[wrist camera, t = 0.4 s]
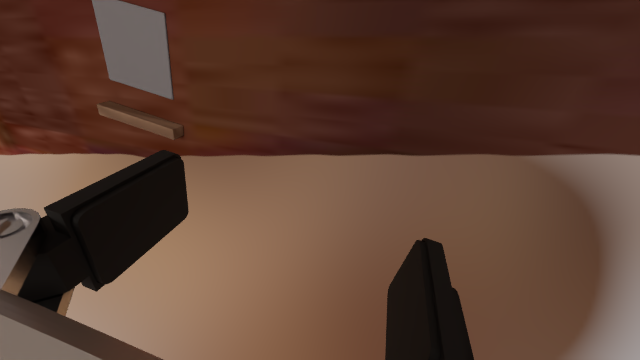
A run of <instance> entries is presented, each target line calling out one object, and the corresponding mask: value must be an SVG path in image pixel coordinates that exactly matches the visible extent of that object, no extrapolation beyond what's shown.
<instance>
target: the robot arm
mask: <svg viewBox="0 0 640 360" xmlns="http://www.w3.org/2000/svg"><path fill="white" fill-rule="evenodd" d="M44 209H45V211H46V213H47V216H45V217H43V218H41V217H40V215H39V213H38V212H36V211H34V210H32V209H25V208H17V209H8V210H2V211H0V360H163V359H161V358H158V357H156V356H154V355H152V354H149V353H147V352H145V351H143V350H140V349H138V348H136V347H134V346H131V345H129V344H127V343H125V342H122V341H120V340H118V339H116V338H113V337H111V336H109V335H106V334H104V333H102V332H100V331H97V330H95V329H93V328H91V327H88V326H86V325H84V324H81V323H79V322H77V321H74V320H72V319H70V318H67V317H65V316H66V313H67V310H68V306H69V304H70V300H71V297H72V294H73V291H74V288H75V286H77V285H78V284H79V283H80V282H81V283H82V285H83V286H85V287H87V288H90V289H92V290H94V291H98V290H99V289H100V288H101V287H103V286H104V285H105V284H108V283H110V282H112V281H114V280H115V279H116V278H117V277H118V276H119V275H121V274H122V273H123V272H124V271H125V270H126V269H128V268H129V267H130V266H131V265H132V264H133V263H135V262H136V261H137V260H138V259H139V258H140V257H141V256H143V255H144V254H145V253H146V252H147V251H148V250H150V249H151V248H152V247H153V246H154V245H155V244H156V243H158V242H159V241H160V240H161V239H162V238H163V237H165V236H166V235H167V234H168V233H169V232H170V231H172V230H173V229H174V228H175V227H176V226H177V225H178V224H180V223H181V222H182V221H183V220H184V219H185V218H186V217H187V215H188V201H187V191H186V181H185V171H184V162H183V160H181V157H180V156H179V155H178V154H175V153H172V152H169V151H166V150H162V151H159V152H157V153H155V154H153V155H151V156H149V157H147V158H145V159H143V160H141V161H139V162H137V163H135V164H133V165H130V166H128V167H127V168H124V169H122V170H120V171H118V172H116V173H114V174H112V175H110V176H108V177H106V178H104V179H102V180H100V181H98V182H96V183H93V184H91V185H89V186H87V187H85V188H84V189H81V190H79V191H77V192H75V193H73V194H71V195H69V196H67V197H65V198H63V199H61V200H59V201H57V202H54V203H52V204H50V205H48V206H46V207H44ZM386 328H387V329H386V356H385V360H474V357H473V353H472V349H471V345H470V341H469V336H468V332H467V328H466V324H465V320H464V316H463V312H462V307H461V303H460V299H459V295H458V293H457V291H456V290H455V289H454V288H452V286H451V282H450V277H449V272H448V268H447V263H446V259H445V254H444V250H443V246H442V244H441V243H439V242H436V241H433V240H430V239H427V238H424V239H422V241H420V240H417V241H416V242H415V244H414V245H413V247H412V249H411V250H410V252H409V254H408V255H407V257H406V259H405V261H404V262H403V264H402V265H401V267H400V269H399V271H398V272H397V274H396V276H395V277H394V279H393V281H392V282H391V284H390V286H389V289H388V298H387V327H386Z"/></svg>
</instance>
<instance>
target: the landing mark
mask: <svg viewBox="0 0 640 360" xmlns="http://www.w3.org/2000/svg"><path fill="white" fill-rule="evenodd" d="M92 2H93V7H94V11H95V16H96V20H97V24H98V29H99V33H100V38H101V42H102V47H103V51H104V56H105V60H106V64H107V69H108V73H109V78H110V80H113V81H117V82H120V83H123V84H126V85H129V86H132V87H135V88H138V89H141V90H145V91H148V92H151V93H154V94H157V95H160V96H163V97H166V98H169V99H173V89H172V79H171V69H170V59H169V49H168V38H167V28H166V18H165V13H162V12H158V11H155V10H151V9H148V8H144V7H140V6H137V5H133V4H130V3H126V2H123V1H119V0H92Z"/></svg>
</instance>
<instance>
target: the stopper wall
mask: <svg viewBox="0 0 640 360" xmlns="http://www.w3.org/2000/svg"><path fill="white" fill-rule="evenodd" d="M97 107H98V111H99V114H100V115H103V116H106V117H109V118H112V119H114V120H117V121H120V122H123V123H126V124H129V125H132V126H135V127H138V128H141V129H144V130H147V131H150V132H153V133H156V134H158V135H161V136H164V137H167V138H170V139H173V140H175V139H177V138H179V137H181V136H183V135H184V133H183V125H180V124H177V123H174V122H171V121H168V120H165V119H162V118H159V117H156V116H153V115H150V114H147V113H144V112H141V111H138V110H135V109H132V108H129V107H126V106H123V105H120V104H117V103H114V102H111V101H108V102H103V103H99V104H97Z"/></svg>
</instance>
